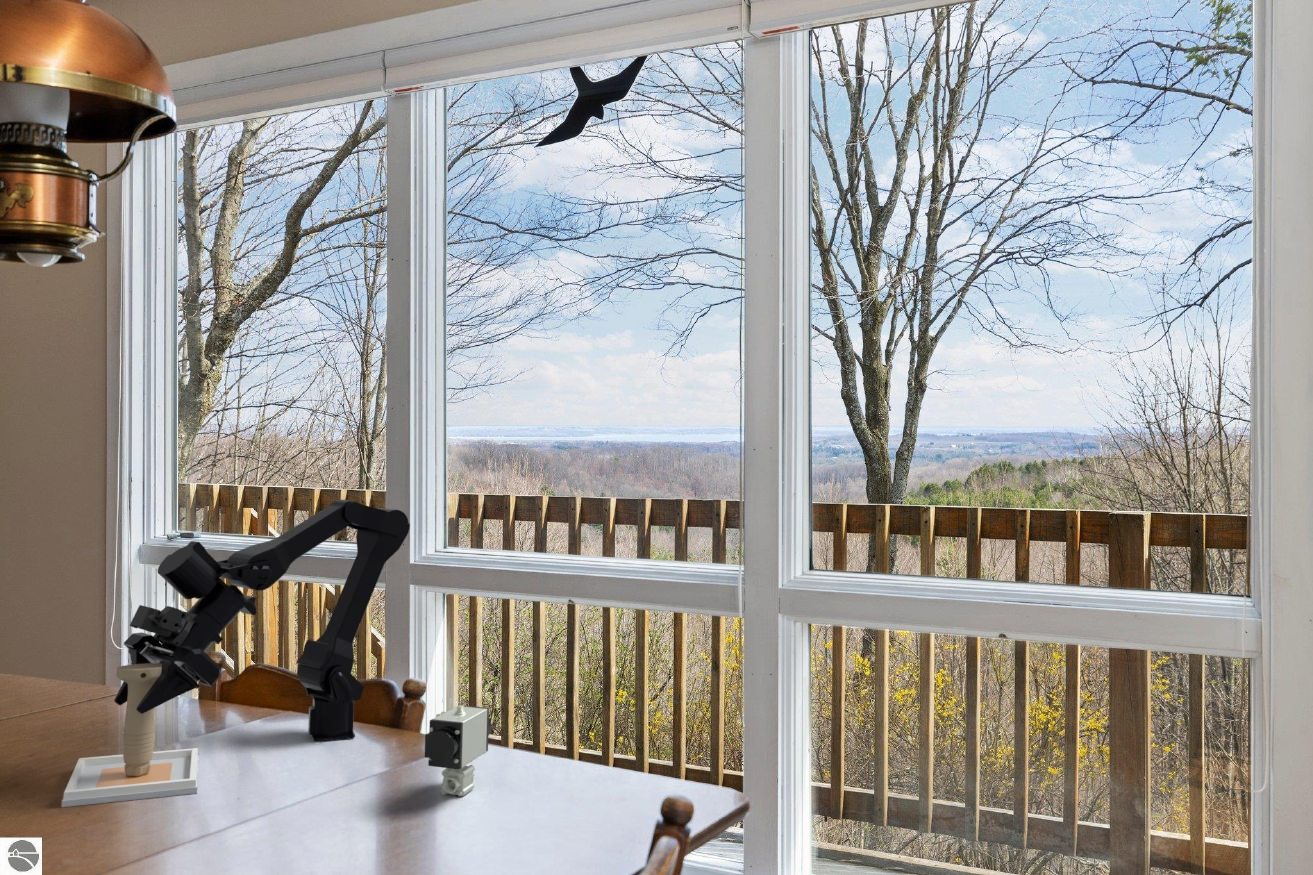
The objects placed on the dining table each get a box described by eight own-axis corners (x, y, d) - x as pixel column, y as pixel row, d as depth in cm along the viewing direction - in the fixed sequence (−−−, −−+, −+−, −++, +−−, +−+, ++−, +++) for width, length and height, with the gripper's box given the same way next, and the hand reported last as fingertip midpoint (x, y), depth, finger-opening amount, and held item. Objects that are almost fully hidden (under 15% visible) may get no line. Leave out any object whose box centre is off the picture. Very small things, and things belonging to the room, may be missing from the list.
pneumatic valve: (491, 781, 144) (493, 697, 144) (453, 808, 133) (456, 717, 133) (456, 776, 145) (458, 694, 146) (416, 803, 134) (418, 713, 134)
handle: (110, 772, 141) (115, 665, 141) (160, 766, 144) (166, 662, 145) (112, 781, 136) (117, 671, 137) (164, 775, 140) (169, 667, 141)
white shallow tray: (199, 759, 150) (199, 747, 150) (196, 793, 136) (197, 779, 136) (77, 770, 144) (77, 757, 144) (61, 807, 129) (62, 793, 129)
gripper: (139, 578, 149) (56, 662, 140) (202, 590, 138) (116, 683, 129) (189, 624, 155) (113, 708, 146) (253, 640, 144) (175, 732, 135)
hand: (127, 707), depth 139 cm, fingers open, 6 cm apart
